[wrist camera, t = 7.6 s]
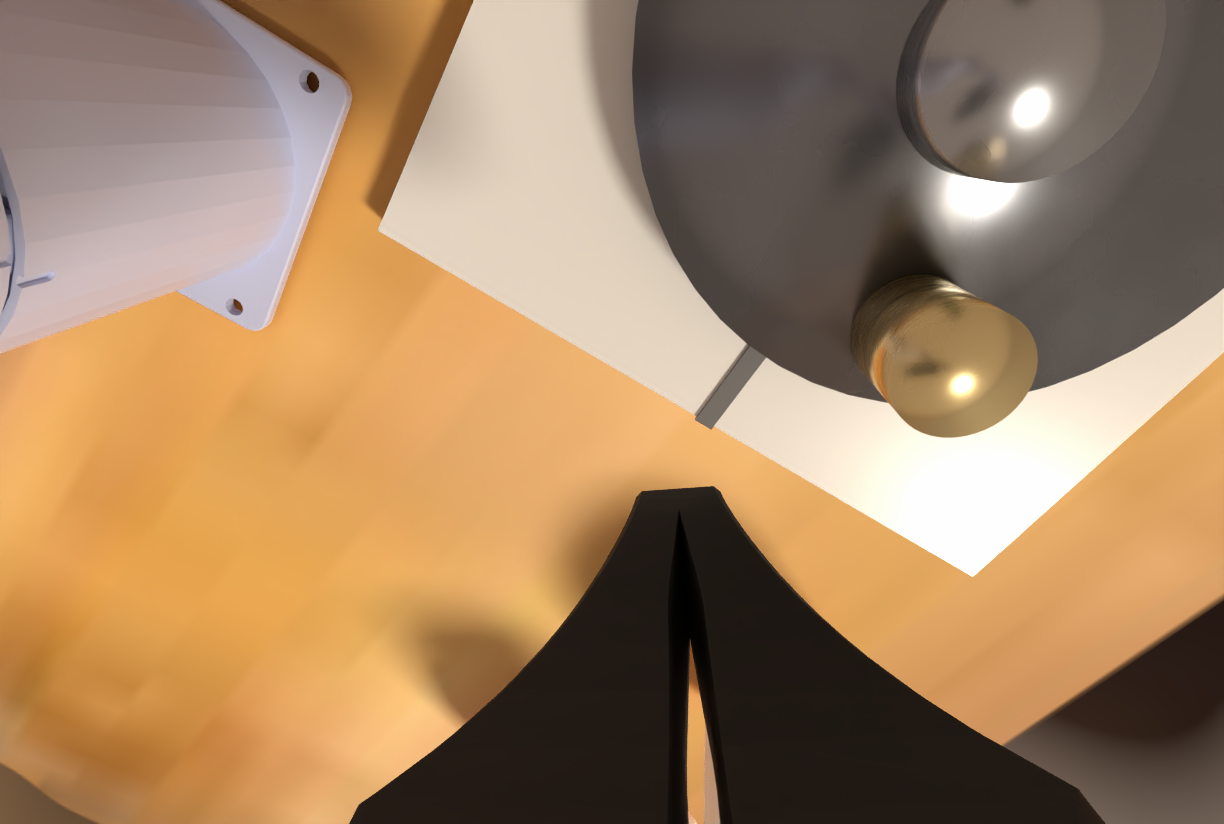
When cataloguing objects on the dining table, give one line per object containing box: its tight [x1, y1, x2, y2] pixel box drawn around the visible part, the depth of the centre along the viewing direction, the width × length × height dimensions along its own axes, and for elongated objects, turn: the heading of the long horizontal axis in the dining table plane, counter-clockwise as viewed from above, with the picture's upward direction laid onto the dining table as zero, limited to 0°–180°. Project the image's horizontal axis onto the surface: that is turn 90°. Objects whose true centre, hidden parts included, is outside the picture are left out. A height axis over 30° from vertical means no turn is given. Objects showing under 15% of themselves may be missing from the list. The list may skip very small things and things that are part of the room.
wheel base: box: [378, 0, 1224, 577], centre depth 15 cm, size 22×22×1 cm
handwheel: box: [632, 0, 1224, 438], centre depth 13 cm, size 16×16×4 cm
